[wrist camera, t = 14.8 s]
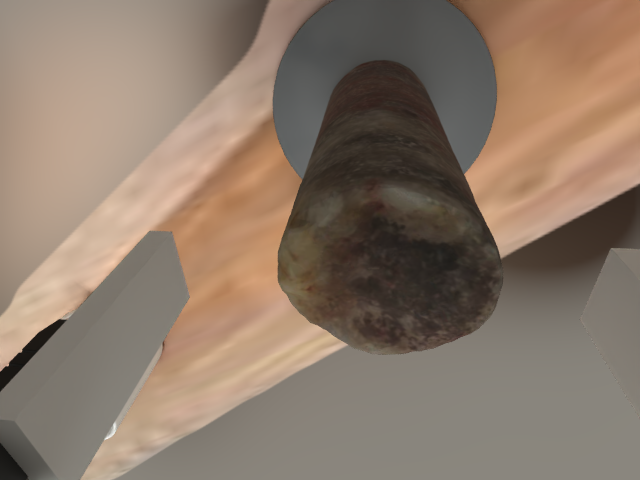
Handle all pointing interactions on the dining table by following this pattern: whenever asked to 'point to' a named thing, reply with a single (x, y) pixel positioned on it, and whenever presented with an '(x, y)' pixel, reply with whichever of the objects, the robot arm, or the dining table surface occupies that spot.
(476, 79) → the plate
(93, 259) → the dining table surface
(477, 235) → the dark brown rough cylinder
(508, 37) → the dining table surface
